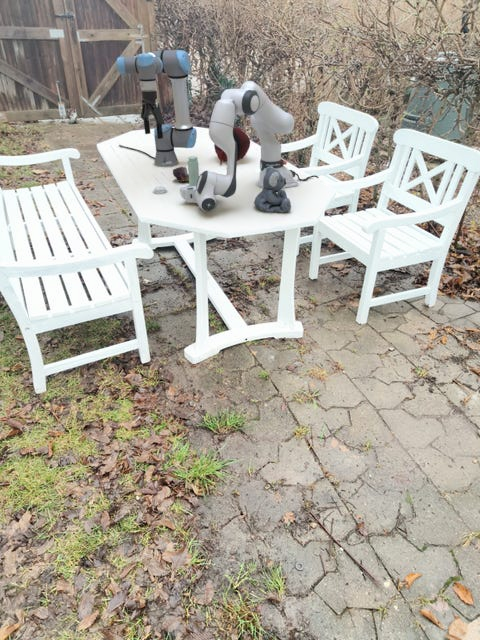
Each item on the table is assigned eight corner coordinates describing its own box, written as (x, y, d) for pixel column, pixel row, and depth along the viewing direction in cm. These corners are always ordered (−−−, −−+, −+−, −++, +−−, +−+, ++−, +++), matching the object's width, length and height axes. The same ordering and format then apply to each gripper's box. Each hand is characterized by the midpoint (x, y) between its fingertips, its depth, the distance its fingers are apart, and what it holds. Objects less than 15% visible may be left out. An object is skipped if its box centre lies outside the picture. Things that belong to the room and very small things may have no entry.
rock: (186, 179, 270) (170, 181, 266) (185, 164, 266) (169, 166, 262) (194, 181, 261) (178, 183, 256) (192, 166, 257) (176, 168, 253)
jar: (192, 189, 251) (190, 155, 240) (201, 190, 249) (199, 156, 239) (188, 192, 247) (185, 158, 236) (197, 194, 245) (195, 159, 235)
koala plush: (292, 213, 220) (294, 173, 209) (255, 214, 219) (256, 174, 208) (286, 201, 234) (288, 162, 223) (252, 202, 233) (252, 164, 222)
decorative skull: (211, 133, 303) (210, 130, 280) (245, 125, 303) (247, 122, 279) (218, 165, 310) (218, 165, 287) (251, 158, 309) (254, 157, 286)
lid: (158, 189, 252) (158, 185, 251) (168, 190, 250) (167, 187, 249) (151, 192, 248) (151, 188, 246) (161, 194, 245) (161, 190, 244)
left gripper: (130, 88, 227) (136, 132, 239) (154, 94, 210) (159, 141, 222) (144, 87, 230) (149, 130, 242) (168, 92, 214) (172, 139, 226)
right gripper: (222, 186, 226) (216, 178, 237) (182, 190, 222) (177, 181, 233) (222, 198, 230) (216, 190, 241) (183, 202, 225) (178, 193, 236)
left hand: (154, 136), depth 232 cm, fingers open, 13 cm apart
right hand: (197, 186), depth 237 cm, fingers open, 8 cm apart
